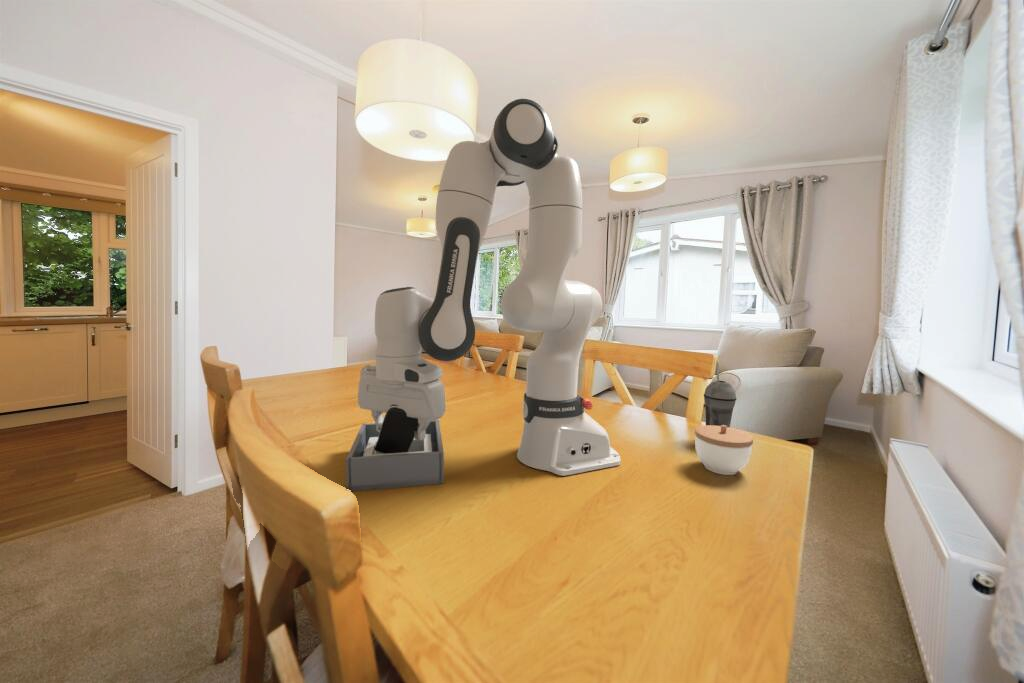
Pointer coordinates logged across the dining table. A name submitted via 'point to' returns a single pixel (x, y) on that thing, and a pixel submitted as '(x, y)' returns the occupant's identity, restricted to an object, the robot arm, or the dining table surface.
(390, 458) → the socket box
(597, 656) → the dining table surface
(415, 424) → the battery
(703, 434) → the lidded jar
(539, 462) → the robot arm
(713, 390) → the beverage cup
